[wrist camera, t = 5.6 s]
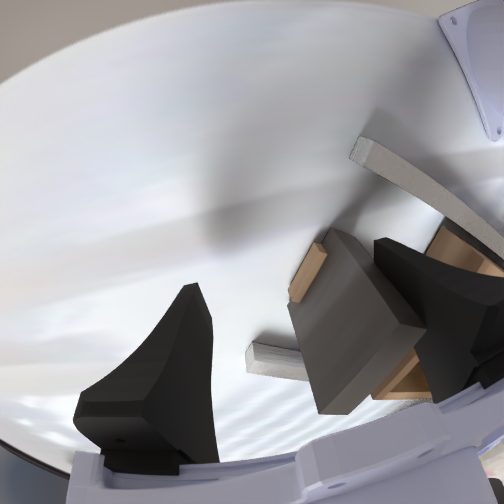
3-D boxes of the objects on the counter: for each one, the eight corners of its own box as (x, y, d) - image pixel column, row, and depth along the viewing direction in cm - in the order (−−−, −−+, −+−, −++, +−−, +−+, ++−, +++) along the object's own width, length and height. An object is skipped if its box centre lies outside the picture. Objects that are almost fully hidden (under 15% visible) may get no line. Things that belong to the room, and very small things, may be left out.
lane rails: (536, 274, 19) (545, 281, 18) (461, 376, 25) (466, 385, 24) (359, 135, 12) (374, 140, 11) (244, 354, 18) (246, 372, 17)
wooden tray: (505, 270, 18) (557, 320, 11) (436, 364, 22) (469, 421, 16) (349, 172, 13) (442, 241, 7) (259, 338, 17) (277, 443, 11)
